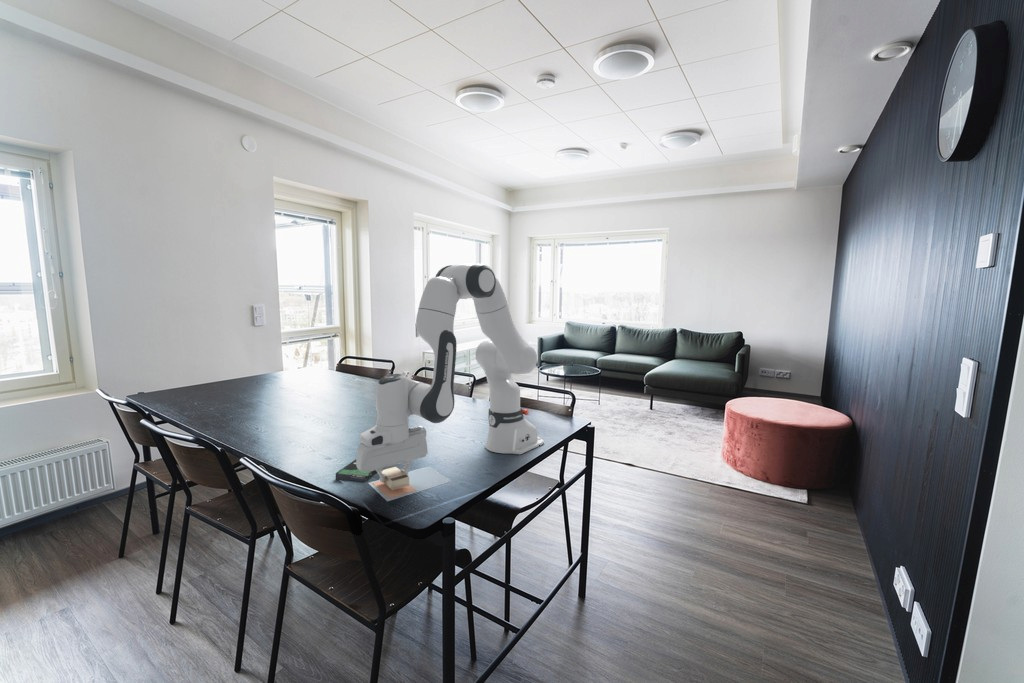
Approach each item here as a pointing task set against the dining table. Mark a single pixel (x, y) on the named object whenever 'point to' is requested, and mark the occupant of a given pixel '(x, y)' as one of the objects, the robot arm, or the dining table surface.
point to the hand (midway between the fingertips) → (394, 478)
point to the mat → (411, 483)
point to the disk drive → (353, 473)
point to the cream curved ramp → (395, 478)
